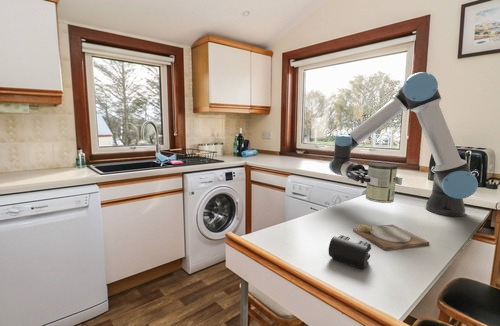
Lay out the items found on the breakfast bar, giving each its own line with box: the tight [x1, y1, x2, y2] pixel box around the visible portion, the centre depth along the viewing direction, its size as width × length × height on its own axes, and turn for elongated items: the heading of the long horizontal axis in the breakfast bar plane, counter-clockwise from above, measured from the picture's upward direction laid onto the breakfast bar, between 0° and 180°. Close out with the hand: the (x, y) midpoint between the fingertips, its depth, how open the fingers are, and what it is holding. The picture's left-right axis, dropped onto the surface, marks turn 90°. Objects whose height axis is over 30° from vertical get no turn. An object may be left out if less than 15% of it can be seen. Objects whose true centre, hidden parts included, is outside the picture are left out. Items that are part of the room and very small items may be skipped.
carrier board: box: [352, 224, 430, 251], centre depth 96 cm, size 18×16×2 cm
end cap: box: [328, 234, 372, 270], centre depth 78 cm, size 10×7×7 cm
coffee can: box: [365, 161, 399, 204], centre depth 107 cm, size 10×10×14 cm
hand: (389, 181), depth 102 cm, fingers closed on coffee can, 10 cm apart
